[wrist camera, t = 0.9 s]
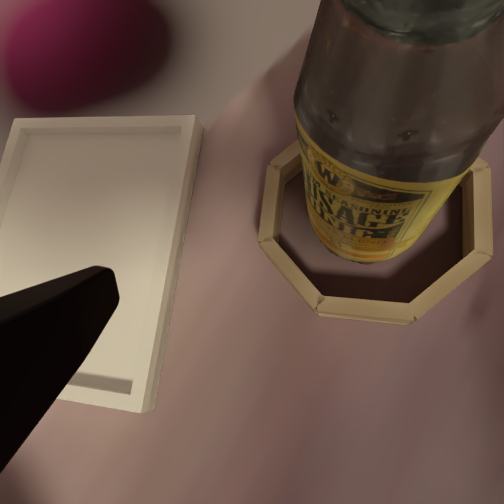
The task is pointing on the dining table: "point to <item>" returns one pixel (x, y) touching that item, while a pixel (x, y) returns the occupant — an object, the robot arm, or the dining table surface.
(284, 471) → the dining table surface
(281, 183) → the bottle collar
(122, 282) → the tray
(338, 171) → the sauce bottle
